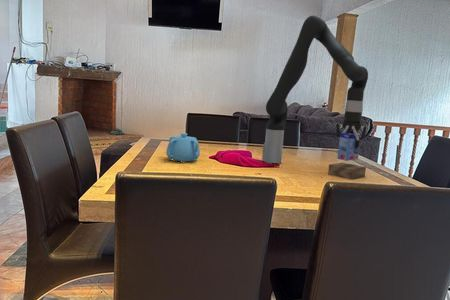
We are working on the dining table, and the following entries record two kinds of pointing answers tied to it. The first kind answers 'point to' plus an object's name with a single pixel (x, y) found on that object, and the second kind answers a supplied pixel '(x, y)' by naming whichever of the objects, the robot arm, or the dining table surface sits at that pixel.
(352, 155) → the ink cartridge box
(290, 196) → the dining table surface
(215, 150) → the dining table surface
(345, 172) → the walnut block
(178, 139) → the decorative pot
